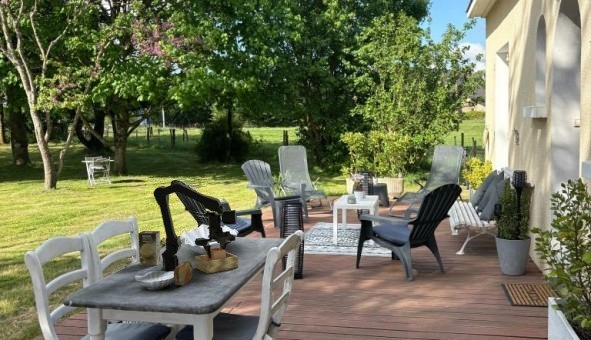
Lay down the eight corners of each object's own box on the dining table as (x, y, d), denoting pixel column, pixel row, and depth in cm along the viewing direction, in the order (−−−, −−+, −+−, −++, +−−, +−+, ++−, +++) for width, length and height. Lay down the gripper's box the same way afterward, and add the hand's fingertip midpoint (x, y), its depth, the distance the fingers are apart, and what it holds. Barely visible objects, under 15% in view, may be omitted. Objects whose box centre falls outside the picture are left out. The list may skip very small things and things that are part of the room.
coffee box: (139, 265, 270) (137, 233, 268) (143, 262, 276) (142, 230, 275) (157, 265, 269) (155, 233, 267) (161, 262, 275) (160, 230, 274)
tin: (180, 288, 231) (179, 268, 230) (173, 287, 232) (172, 268, 231) (193, 277, 246) (192, 259, 245) (187, 277, 247) (186, 259, 246)
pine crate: (207, 273, 252) (206, 261, 251) (195, 268, 262) (194, 256, 262) (238, 267, 261) (237, 256, 260) (225, 262, 271) (225, 251, 271)
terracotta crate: (214, 262, 256) (213, 251, 256) (206, 259, 263) (206, 248, 262) (225, 260, 260) (225, 249, 259) (218, 257, 266) (217, 246, 266)
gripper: (203, 230, 248) (205, 264, 249) (240, 224, 258) (241, 257, 260) (193, 226, 257) (195, 259, 258) (229, 221, 267) (230, 253, 269)
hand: (216, 257), depth 261 cm, fingers closed on terracotta crate, 6 cm apart
